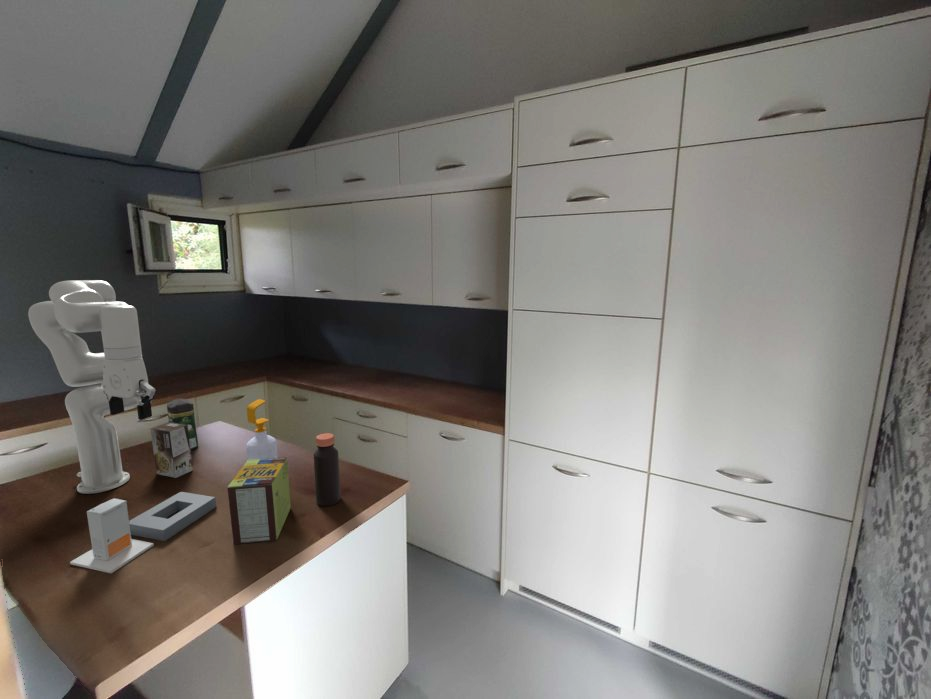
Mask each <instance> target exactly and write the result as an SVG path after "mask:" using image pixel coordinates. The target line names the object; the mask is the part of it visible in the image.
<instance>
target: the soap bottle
mask: <svg viewBox="0 0 931 699" xmlns="http://www.w3.org/2000/svg"><path fill="white" fill-rule="evenodd" d="M265 403H266V400H264V399H261V398H257V399H256V400H254V401H253V402H251V403H248V405H247V406H246V415H247V418H246V419H247V422H248V423H251V424H254V425H255V426H256V428H255V429H254V434H255V435H254V437H252V438H251V439H249V440H248V442H247V443H246V457H247V460H253V459H270V458H279V456H278V444H277V439H276V438H275V437H274V436H271V435H268V434H267V428H266V427H264V426H265V424H266V423H267V422H270V421H269V419H268V418H264V417H261V418H257V417H256V409H258V408H259V407H260V406H262V405H264V404H265ZM256 418H257V419H256Z"/></svg>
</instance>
